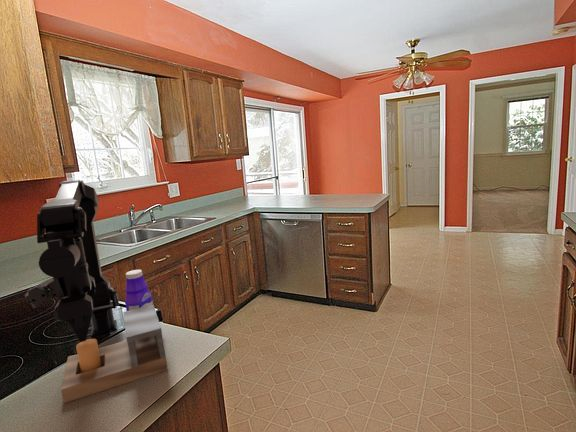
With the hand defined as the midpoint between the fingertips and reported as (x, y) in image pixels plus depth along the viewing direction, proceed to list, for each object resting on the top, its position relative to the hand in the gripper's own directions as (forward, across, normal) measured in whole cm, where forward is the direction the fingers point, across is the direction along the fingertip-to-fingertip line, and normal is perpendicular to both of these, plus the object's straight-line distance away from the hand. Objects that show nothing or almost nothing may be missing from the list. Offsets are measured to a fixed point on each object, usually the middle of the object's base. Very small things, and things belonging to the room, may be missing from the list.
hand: (84, 332), depth 78 cm
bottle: (+11, -16, +12) cm, 23 cm away
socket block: (+11, 0, +5) cm, 12 cm away
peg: (+11, 0, 0) cm, 11 cm away
